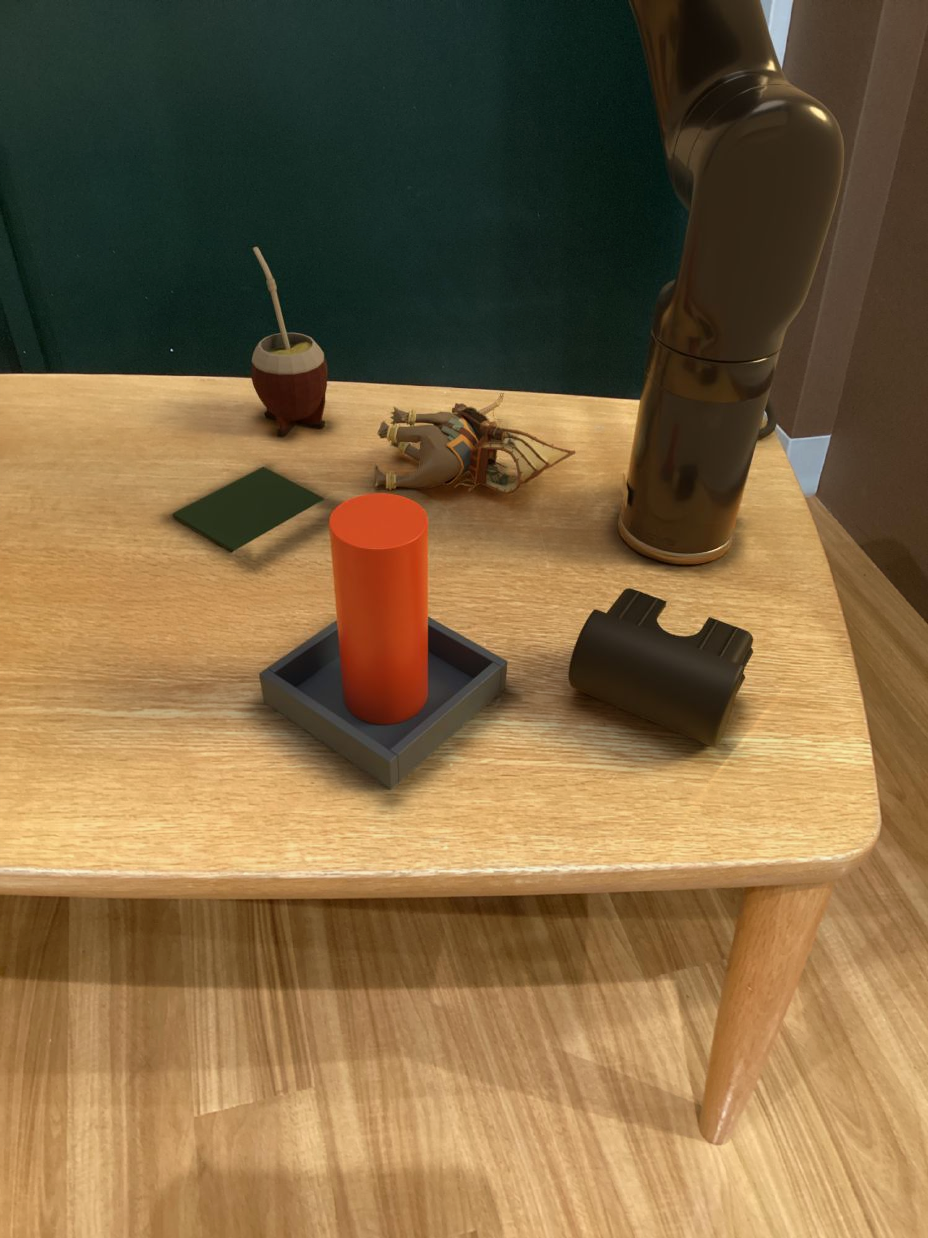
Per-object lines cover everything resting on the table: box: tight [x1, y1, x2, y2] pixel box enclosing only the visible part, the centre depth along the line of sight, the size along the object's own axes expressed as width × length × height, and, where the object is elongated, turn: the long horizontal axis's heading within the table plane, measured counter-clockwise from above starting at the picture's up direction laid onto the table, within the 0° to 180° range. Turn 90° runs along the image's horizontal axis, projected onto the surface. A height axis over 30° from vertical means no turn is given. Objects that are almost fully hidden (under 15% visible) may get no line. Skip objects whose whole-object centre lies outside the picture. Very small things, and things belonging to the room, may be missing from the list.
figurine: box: [374, 392, 576, 496], centre depth 81 cm, size 20×6×17 cm
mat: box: [171, 466, 326, 553], centre depth 78 cm, size 10×10×1 cm
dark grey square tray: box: [258, 616, 508, 791], centre depth 61 cm, size 11×11×3 cm
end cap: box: [567, 587, 754, 747], centre depth 59 cm, size 10×7×7 cm
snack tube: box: [328, 492, 429, 725], centre depth 57 cm, size 6×6×14 cm
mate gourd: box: [250, 246, 328, 438], centre depth 85 cm, size 8×8×15 cm
